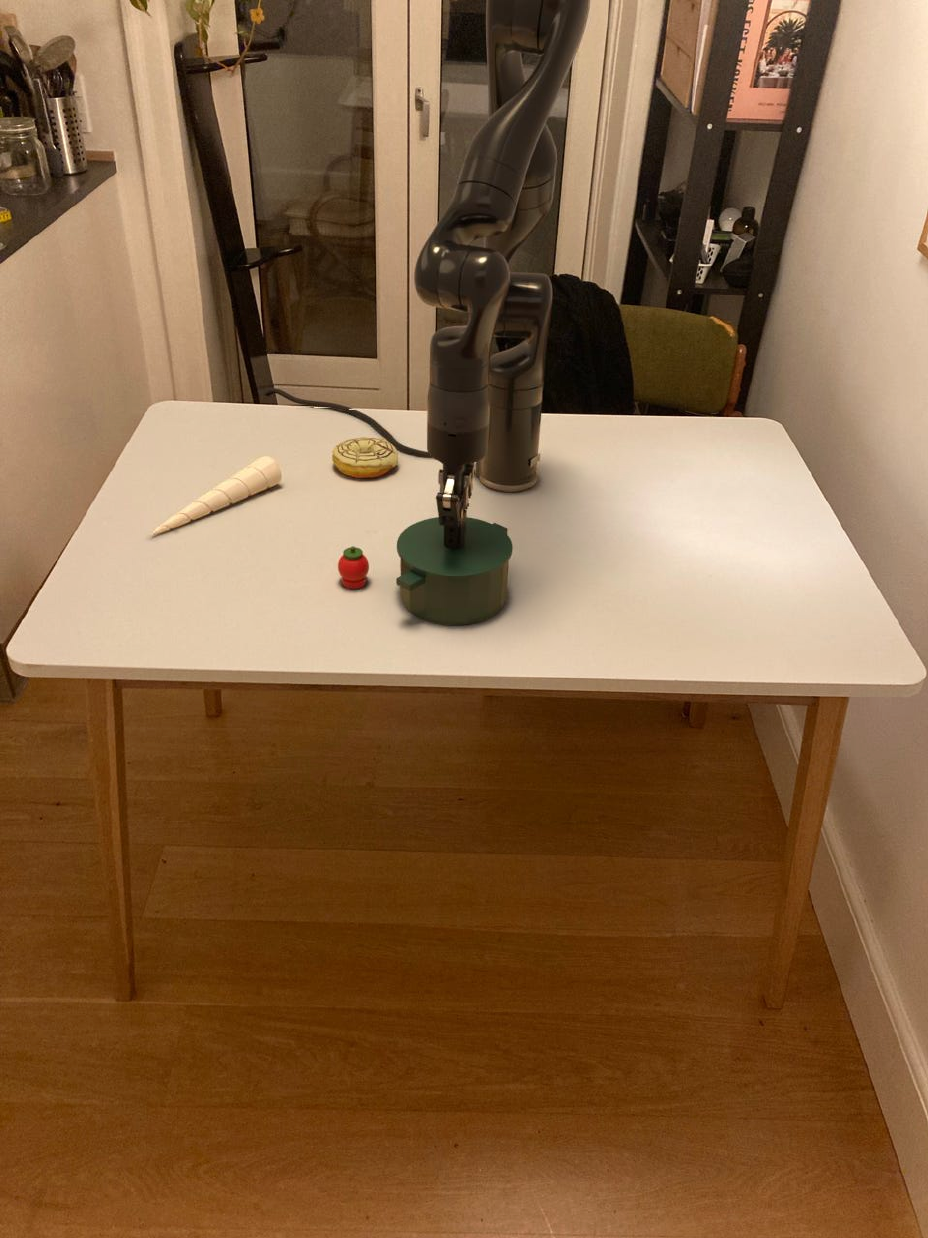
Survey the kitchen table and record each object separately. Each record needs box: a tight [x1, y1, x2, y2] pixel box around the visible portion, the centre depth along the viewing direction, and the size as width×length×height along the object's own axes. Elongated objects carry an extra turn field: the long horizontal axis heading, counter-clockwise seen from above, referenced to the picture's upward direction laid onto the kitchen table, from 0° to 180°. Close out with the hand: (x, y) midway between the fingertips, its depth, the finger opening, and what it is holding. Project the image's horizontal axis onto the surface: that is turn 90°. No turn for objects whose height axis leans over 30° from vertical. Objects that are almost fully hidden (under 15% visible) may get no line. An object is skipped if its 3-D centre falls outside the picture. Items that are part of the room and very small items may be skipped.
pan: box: [396, 522, 510, 626], centre depth 131 cm, size 14×20×8 cm
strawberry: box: [337, 546, 370, 590], centre depth 133 cm, size 4×4×6 cm
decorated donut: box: [331, 436, 399, 479], centre depth 163 cm, size 10×11×4 cm
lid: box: [396, 509, 514, 579], centre depth 128 cm, size 15×15×6 cm
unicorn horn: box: [150, 455, 283, 535], centre depth 150 cm, size 5×24×5 cm, turn 137°
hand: (454, 540), depth 128 cm, fingers closed on lid, 2 cm apart
